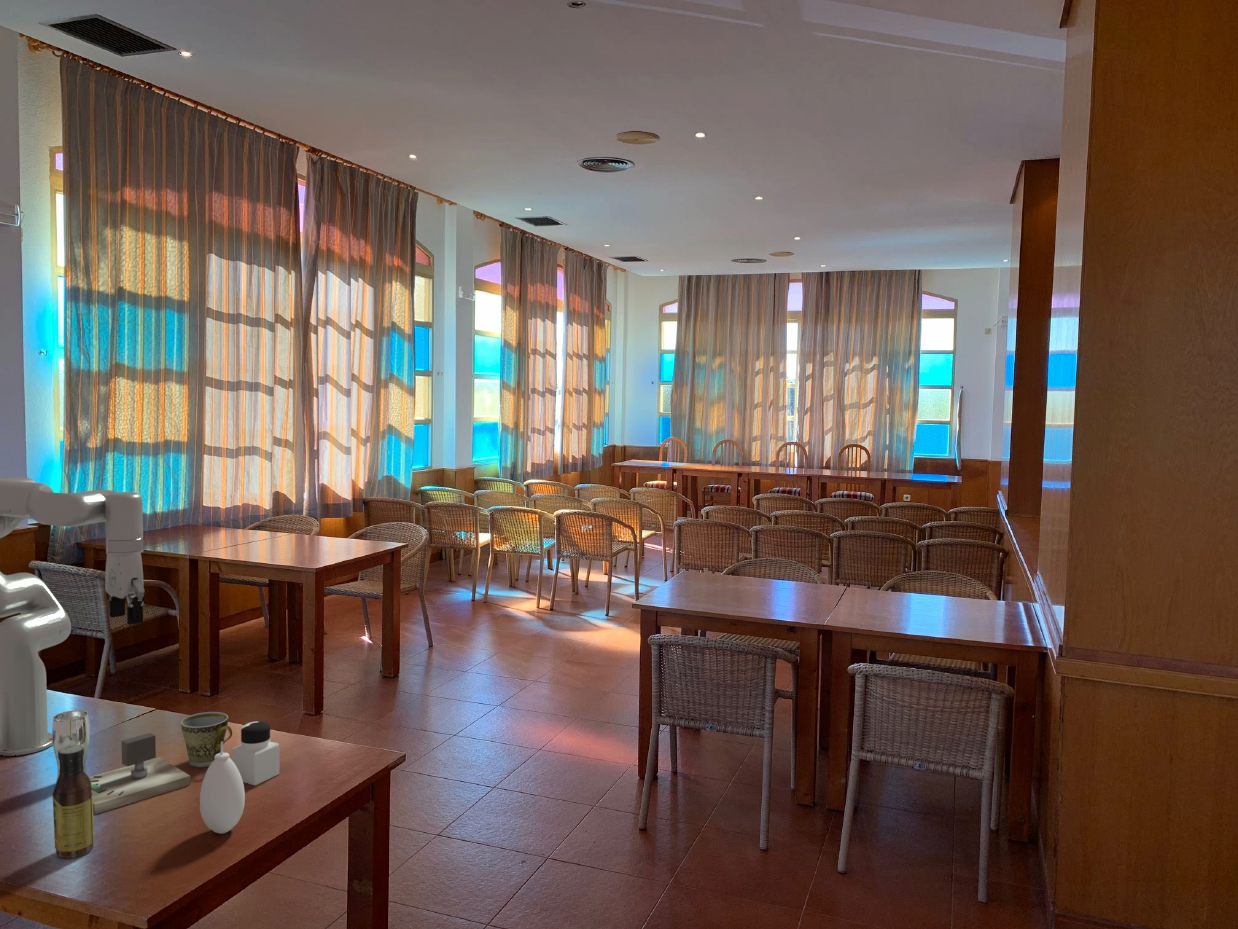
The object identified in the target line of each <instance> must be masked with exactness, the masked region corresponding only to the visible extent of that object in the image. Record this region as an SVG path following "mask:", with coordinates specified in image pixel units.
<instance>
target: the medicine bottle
mask: <svg viewBox="0 0 1238 929" xmlns="http://www.w3.org/2000/svg"><path fill="white" fill-rule="evenodd" d="M231 760H232V761H233V762H234V763H235V765H236V767H237V768H238V770H239V773H240V775H241V778H242V781H243V782H244V783H243V784H247V783H248V784H247V785H252V786H255V787H257V785H260V784H262V783H263V782H266V781H268V780H270V779H272V778H274V777H276V776H278V775H280V744H279V743H278V742H273V741H271V725H270V724H269V723H268V722H265V721H261V720H260V721H251V722H247V723H246V724H244V725H242V727H241V728H240V744H239V745H238V746H235V747H232V748H231Z"/></svg>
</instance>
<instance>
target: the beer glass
mask: <svg viewBox="0 0 1238 929" xmlns="http://www.w3.org/2000/svg"><path fill="white" fill-rule="evenodd" d="M90 728H91V727H90V718H89V712H88V711H87V710H83V709H82V710H81V709H75V710H74V709H73V710H68V711H63V712H60V713H57V714H54V716H53V717H52V732H51V734H52V741H53V745H52V747H53V753H54V757H55V760H56V765H57V776H56V782H57V780H58V777H59V774H60V773H59V771H60V761H59V758H58V751H59V749H61V748H63V747H66V746H69V745H81V746H83V747H84V755H83V766H84V770H83V771H84V772H85V773H86V774H87V775H88V776H89V774H88V771H87V770H88V769H87V758H88V751H89V747H90V740H91V736H90V735H91V729H90ZM56 782H55V783H56Z"/></svg>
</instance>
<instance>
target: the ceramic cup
mask: <svg viewBox="0 0 1238 929" xmlns="http://www.w3.org/2000/svg"><path fill="white" fill-rule="evenodd" d="M228 724H229V715H228V714H226V713H224V712H220V711H207V712H200V713H199V712H198V713H195V714H192V715H188V716H187V717H185V718H182V720H181V721H180V727H181V732H182V736H183V740H184V742H185V746H186V747H185V748H186V751H187V756H188V757H187V758H188V762H189V765H190V766H191V767H196V768H205V767H209V766H210V765H211V763H212V762H213V761H214V760H215V759H214V757H215V755H216V754H218V753H220V752H221V741H222V743H223V745H225V743H226V742H228V741H229V740H230V739H231V738H232V736H233V730H232V728H231V726H229V725H228ZM227 731H228V732H229V736H228V737H227V738H226V739H225V736H226V733H227Z"/></svg>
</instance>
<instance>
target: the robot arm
mask: <svg viewBox="0 0 1238 929" xmlns="http://www.w3.org/2000/svg"><path fill="white" fill-rule="evenodd" d="M143 503H144V502H143V496H142V495H141V494H140V493H139V492H134V491H119V492H118V491H114V490H110V489H95V490H86V491H77V492H71V493H68V492H67V493H65V492H54V491H53V489H52V487H51V486H50V485H48V484H46V483H43V482H36V481H35V480H34V479H32V478H29V477H26V476H25V477H24V476H17V477H16V476H15V477H5V478H3V477H2V478H0V539H2V538H4V537H6V536H7V535H9V534H10V533H12V532H13V531H14V530H15V529H16V528H17V527H18V526H19V525H20V524H21V523H23V521H25V520H26V519H28V520H29V519H30V520H33V521H35V522H36V523H39V524H42V525H48V526H55V527H56V526H57V527H69V528H70V527H71V528H72V527H73V528H74V527H81V526H86V525H87V526H88V525H92V524H99V523H105V554H106V559H105V560H106V561H105V579H104V580H105V581H104V583H105V584H104V585H105V586H104V588H105V589H104V590H105V592H106V594H108V599H109V604H108V605H109V617H110V618H117V617H124V616H125V615H126V617H127V619H126V623H127V625H130V626H131V625H132V626H133V625H139V624H142V623H143V622H144V605H145V604H144V599H145V597H144V595H145V588H144V570H143V567H144V566H143V561H142V559H143V558H142V554H141V553H144V512H143V510H144V508H143V505H144V504H143ZM126 601H127V604H128V606H127V607H126ZM16 614H17V615H16ZM12 615H14V616H12ZM8 616H11V617H8ZM6 617H8V618H6ZM0 618H5V619H4V620H2V621H1V622H0V756H1V755H3V757H12V756H13V757H14V756H15V755H16V756H24V755H29V754H33V753H38V752H41V751H42V750H46V749H48V748H50V747H51V746H52V747H53V741H52V732H51V733H50V732H48V727H49V725H48V698H47V697H48V692H47V687H48V686H47V671H46V667H45V664H44V662H43V660H42V658H40V656H39V654H38V653H39V652H41V651H42V650H45V649H48V648H51V647H54V646H56V645H59V644H61V643H63V642H65V641H66V640H67V639H68V637H69V636H70V635H71V630H72V623H71V619H70V617H69V615H68V613H67V611H66V610H65V609H64V608H63V606H62V605H61V603H60V602H59V601H58V599H57V598H56V597H55V595H54V594H53V592H52V591H51V590H50V588H49V587H48V586H47V584H46V583H45V582H44V580H42V579H41V578H39V576H36V575H35V574H32V573H31V572H30V573H29V572H17V573H13V574H8V575H7V574H4V573H2V572H1V570H0ZM16 756H15V757H16Z"/></svg>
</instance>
